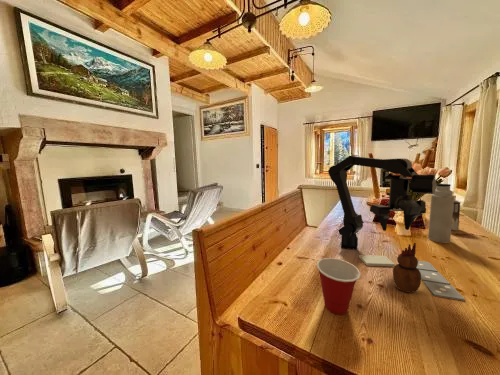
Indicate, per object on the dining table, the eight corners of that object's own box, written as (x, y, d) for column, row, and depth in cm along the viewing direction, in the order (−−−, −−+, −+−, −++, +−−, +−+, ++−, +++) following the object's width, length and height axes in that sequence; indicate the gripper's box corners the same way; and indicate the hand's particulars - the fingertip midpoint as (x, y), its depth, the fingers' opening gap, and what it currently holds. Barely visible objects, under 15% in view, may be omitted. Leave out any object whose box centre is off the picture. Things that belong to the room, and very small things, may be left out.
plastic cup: (348, 330, 48) (349, 283, 46) (308, 307, 56) (308, 266, 54) (365, 308, 55) (367, 267, 53) (328, 290, 63) (328, 254, 61)
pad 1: (413, 269, 74) (413, 267, 74) (406, 260, 80) (406, 259, 80) (437, 272, 71) (437, 271, 71) (428, 263, 77) (429, 261, 77)
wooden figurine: (416, 286, 63) (419, 241, 62) (422, 297, 58) (426, 248, 57) (390, 281, 66) (392, 238, 65) (394, 291, 61) (397, 244, 59)
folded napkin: (366, 265, 77) (366, 263, 77) (359, 257, 84) (359, 255, 84) (394, 266, 76) (394, 264, 76) (384, 258, 83) (384, 255, 82)
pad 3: (433, 295, 59) (433, 293, 59) (423, 282, 65) (423, 281, 65) (465, 301, 56) (465, 299, 56) (451, 286, 63) (451, 285, 63)
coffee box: (455, 227, 116) (457, 200, 114) (458, 231, 111) (461, 202, 109) (434, 225, 121) (436, 199, 119) (436, 228, 116) (438, 201, 114)
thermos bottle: (425, 236, 105) (428, 183, 101) (444, 237, 102) (448, 183, 99) (433, 242, 97) (437, 184, 94) (454, 243, 94) (459, 184, 91)
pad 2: (422, 280, 66) (422, 279, 66) (414, 270, 73) (414, 269, 73) (449, 285, 64) (450, 283, 64) (439, 273, 70) (439, 272, 70)
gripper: (391, 195, 69) (388, 238, 71) (442, 193, 70) (438, 236, 72) (370, 190, 80) (368, 228, 82) (414, 189, 81) (411, 226, 83)
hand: (395, 230), depth 79 cm, fingers open, 9 cm apart
